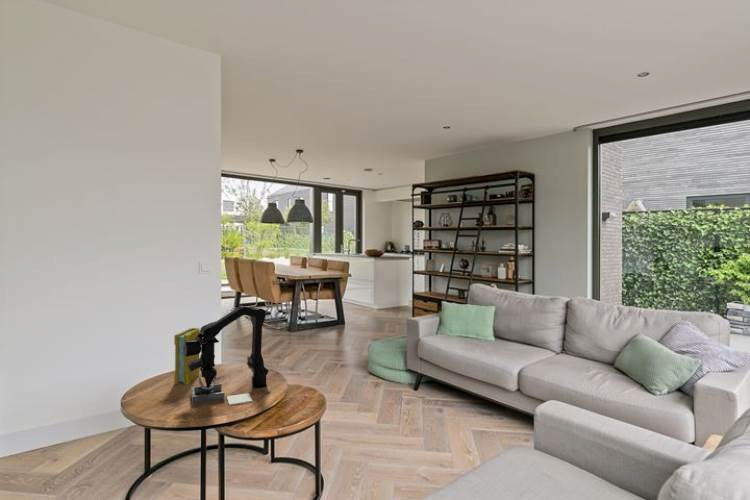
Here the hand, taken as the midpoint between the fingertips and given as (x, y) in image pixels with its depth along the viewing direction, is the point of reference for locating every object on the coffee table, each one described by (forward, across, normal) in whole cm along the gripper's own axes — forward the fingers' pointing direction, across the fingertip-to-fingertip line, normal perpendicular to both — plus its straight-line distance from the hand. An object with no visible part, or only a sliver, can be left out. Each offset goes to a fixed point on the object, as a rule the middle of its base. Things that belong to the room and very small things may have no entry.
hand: (207, 385), depth 190 cm
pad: (+5, +9, +13) cm, 17 cm away
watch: (+5, 0, 0) cm, 5 cm away
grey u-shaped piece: (+5, 0, 0) cm, 5 cm away
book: (+6, -31, -7) cm, 32 cm away
